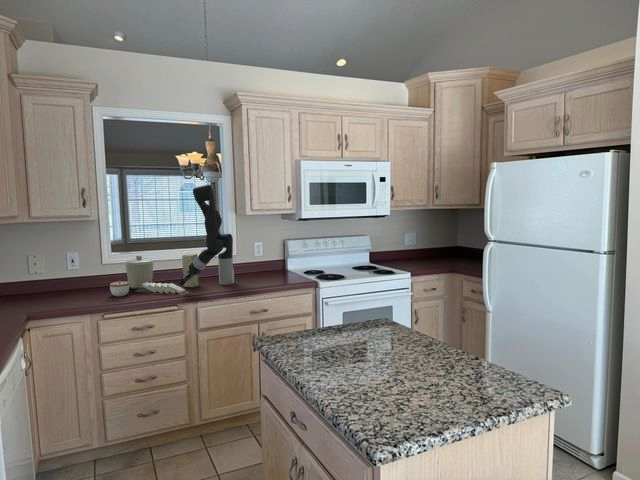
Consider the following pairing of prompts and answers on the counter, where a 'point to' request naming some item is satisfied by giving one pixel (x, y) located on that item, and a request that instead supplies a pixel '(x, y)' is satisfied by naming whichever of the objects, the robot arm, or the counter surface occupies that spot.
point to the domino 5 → (167, 288)
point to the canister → (139, 271)
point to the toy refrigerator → (187, 261)
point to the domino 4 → (160, 287)
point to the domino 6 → (175, 288)
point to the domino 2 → (148, 287)
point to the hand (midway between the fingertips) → (181, 284)
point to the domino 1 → (143, 290)
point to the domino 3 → (154, 287)
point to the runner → (168, 293)
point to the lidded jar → (119, 288)
